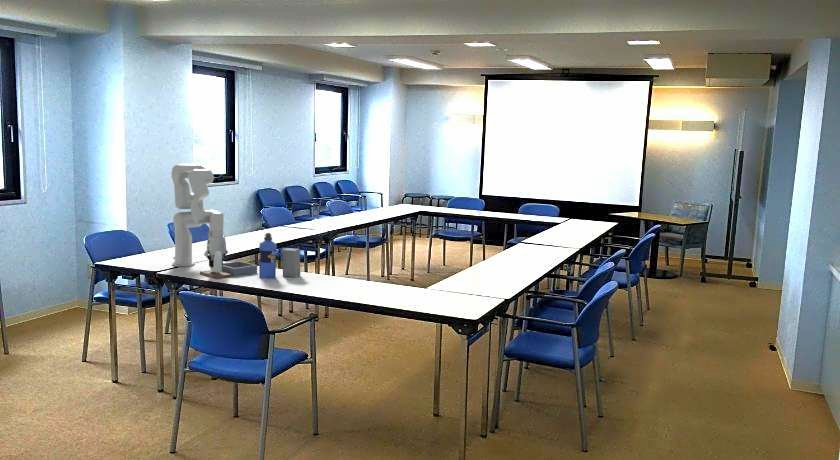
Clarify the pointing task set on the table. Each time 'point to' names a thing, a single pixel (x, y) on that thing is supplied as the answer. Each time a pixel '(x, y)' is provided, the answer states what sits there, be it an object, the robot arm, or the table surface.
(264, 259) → the water bottle
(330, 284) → the table surface
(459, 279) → the table surface
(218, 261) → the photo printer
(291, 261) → the skincare box
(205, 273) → the board
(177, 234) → the robot arm
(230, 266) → the bin
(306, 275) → the table surface
